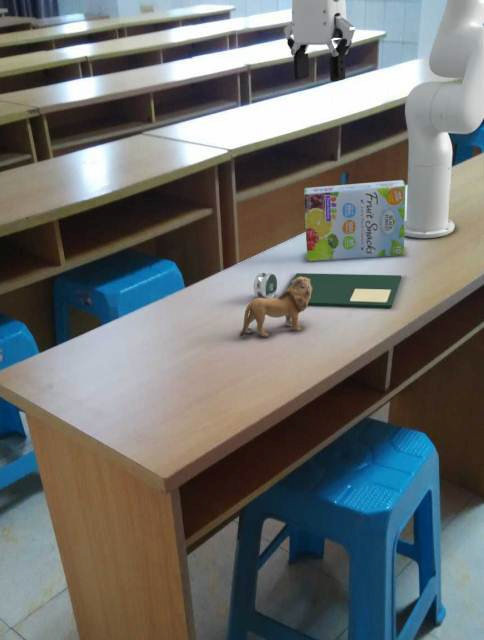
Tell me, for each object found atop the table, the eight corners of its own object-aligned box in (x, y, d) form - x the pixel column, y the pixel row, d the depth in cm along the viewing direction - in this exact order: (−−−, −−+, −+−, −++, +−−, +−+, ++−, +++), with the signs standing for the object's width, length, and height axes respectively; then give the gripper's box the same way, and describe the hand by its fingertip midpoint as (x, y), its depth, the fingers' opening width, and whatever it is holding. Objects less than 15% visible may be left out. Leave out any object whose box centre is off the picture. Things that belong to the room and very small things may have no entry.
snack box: (401, 247, 161) (403, 178, 153) (403, 256, 156) (406, 185, 148) (307, 253, 164) (304, 186, 156) (306, 262, 159) (303, 193, 151)
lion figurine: (306, 316, 136) (304, 270, 131) (319, 326, 132) (317, 279, 127) (234, 334, 132) (229, 288, 127) (244, 345, 128) (240, 298, 123)
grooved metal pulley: (266, 303, 143) (264, 279, 140) (253, 301, 144) (251, 277, 141) (277, 293, 146) (276, 270, 143) (265, 292, 148) (263, 268, 145)
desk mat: (296, 275, 153) (296, 272, 153) (401, 278, 146) (401, 274, 146) (278, 304, 142) (278, 300, 141) (390, 308, 135) (390, 304, 134)
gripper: (368, -36, 119) (367, 77, 129) (298, -30, 131) (303, 74, 141) (335, -32, 116) (337, 85, 125) (267, -25, 128) (274, 80, 137)
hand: (319, 79), depth 133 cm, fingers open, 9 cm apart
